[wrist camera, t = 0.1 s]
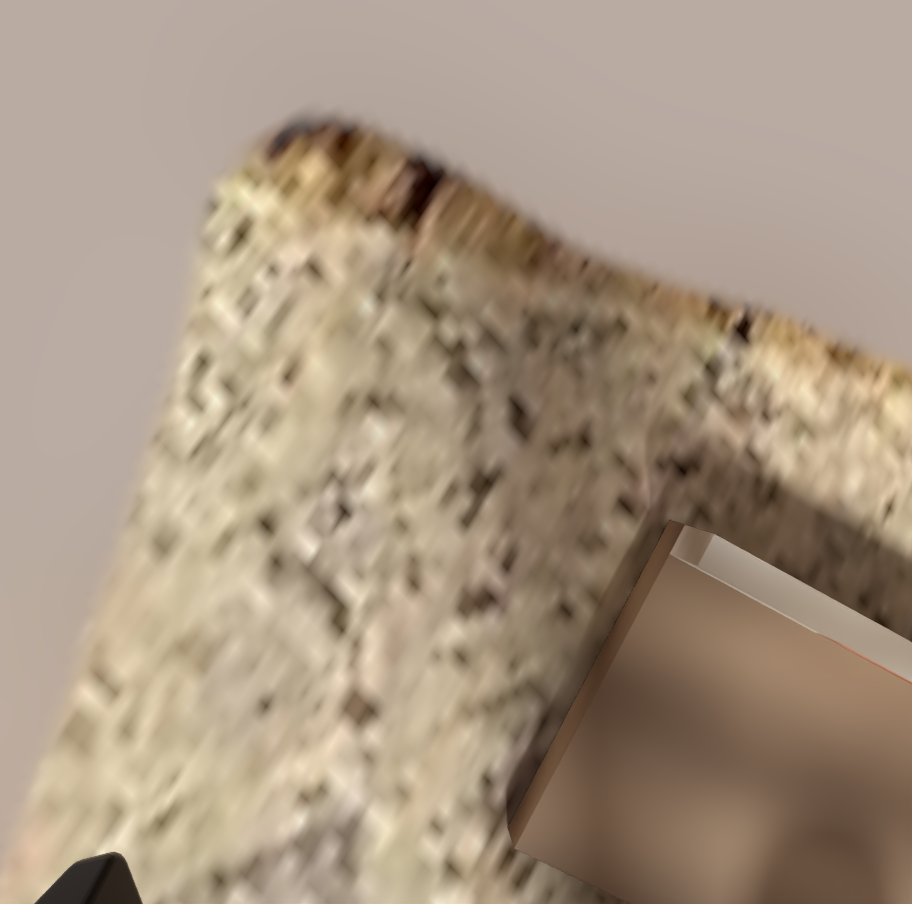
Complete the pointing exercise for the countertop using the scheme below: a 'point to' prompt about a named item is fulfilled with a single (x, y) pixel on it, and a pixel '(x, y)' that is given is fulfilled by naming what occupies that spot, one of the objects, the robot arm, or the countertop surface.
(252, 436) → the countertop surface
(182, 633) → the countertop surface
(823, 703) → the shelf board
